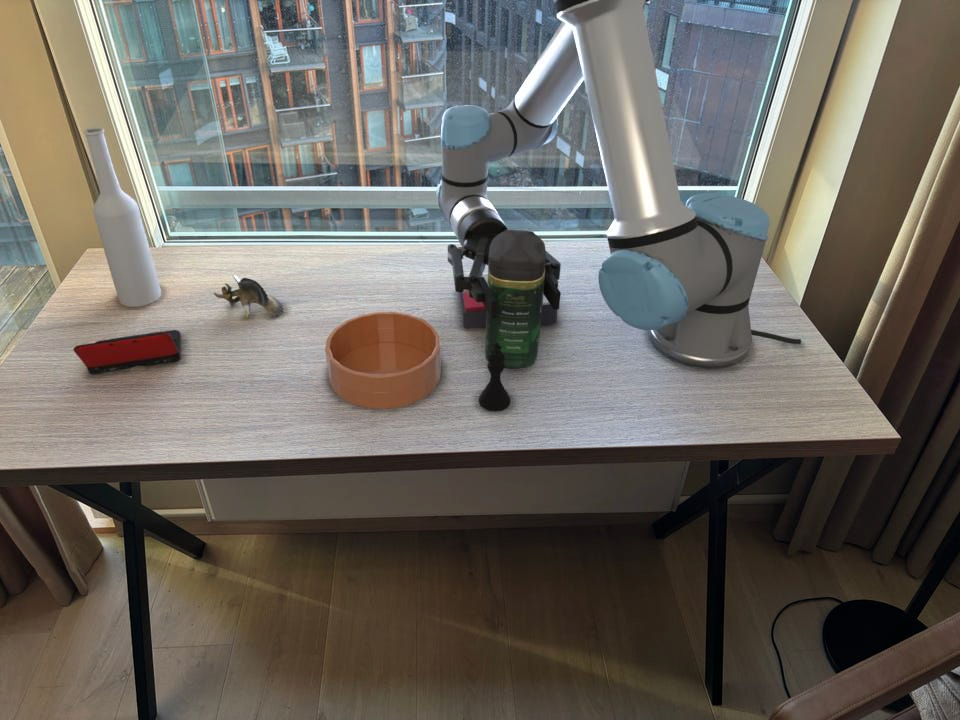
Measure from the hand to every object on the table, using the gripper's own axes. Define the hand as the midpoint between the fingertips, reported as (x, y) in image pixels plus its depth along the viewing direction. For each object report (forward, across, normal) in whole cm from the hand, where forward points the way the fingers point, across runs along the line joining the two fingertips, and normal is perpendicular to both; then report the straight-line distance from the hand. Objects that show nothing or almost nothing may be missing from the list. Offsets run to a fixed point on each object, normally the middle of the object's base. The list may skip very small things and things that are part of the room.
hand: (526, 305), depth 104 cm
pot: (-6, +19, -13) cm, 23 cm away
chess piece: (+4, +5, -13) cm, 14 cm away
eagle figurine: (-28, +36, -13) cm, 47 cm away
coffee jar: (-5, 0, -11) cm, 12 cm away
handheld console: (-18, +53, -13) cm, 58 cm away
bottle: (-37, +54, -13) cm, 67 cm away
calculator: (-19, -4, -13) cm, 23 cm away
